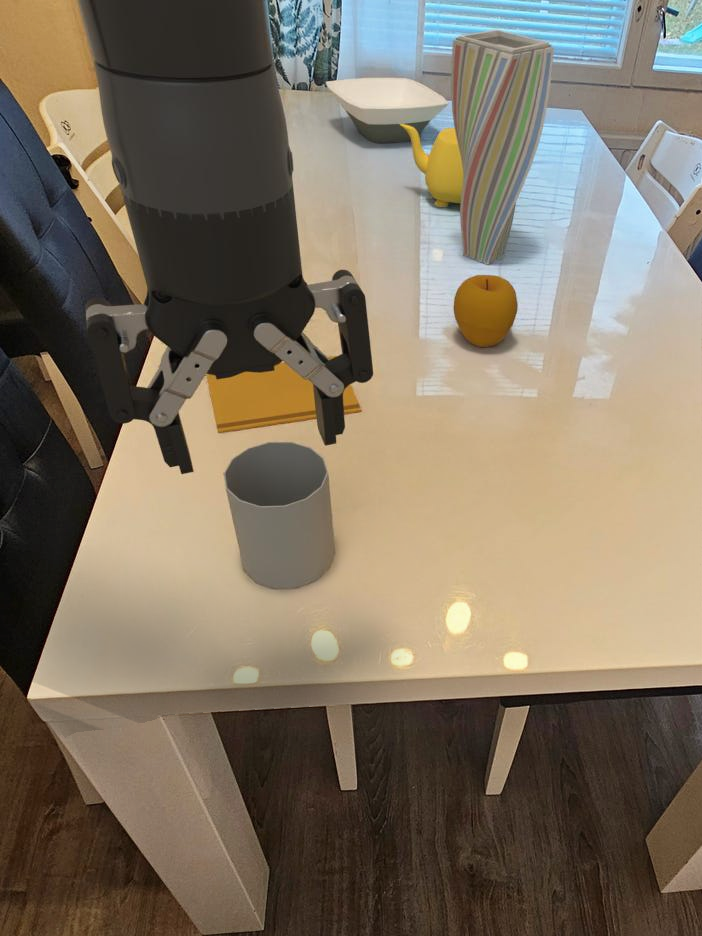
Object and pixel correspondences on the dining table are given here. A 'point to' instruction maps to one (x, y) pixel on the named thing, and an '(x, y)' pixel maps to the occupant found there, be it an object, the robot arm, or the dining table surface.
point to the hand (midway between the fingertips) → (258, 450)
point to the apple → (485, 309)
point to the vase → (496, 130)
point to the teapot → (440, 165)
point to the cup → (281, 513)
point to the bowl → (387, 106)
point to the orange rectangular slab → (267, 399)
